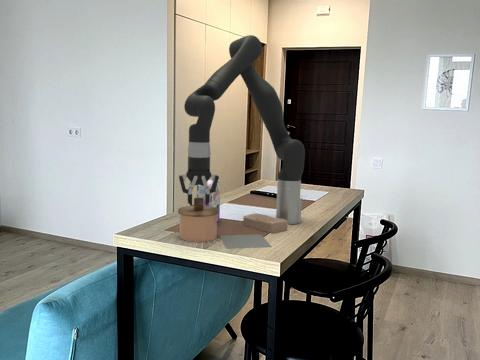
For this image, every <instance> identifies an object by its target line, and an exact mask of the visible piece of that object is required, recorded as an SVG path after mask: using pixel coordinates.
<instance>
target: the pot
mask: <svg viewBox="0 0 480 360" xmlns="http://www.w3.org/2000/svg"><path fill="white" fill-rule="evenodd" d="M217 236H218V222H217V215H213V216H207V217H191V216H184V215H181V214H179V238H180V239H181V240H183V241H187V242H194V243H195V242H196V243H201V242H202V243H205V242H209V241H213V240H215V239H217V238H218V237H217Z"/></svg>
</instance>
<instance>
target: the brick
mask: <svg viewBox="0 0 480 360" xmlns="http://www.w3.org/2000/svg"><path fill="white" fill-rule="evenodd" d="M242 217H243V218H242V219H243V220H242V226H246V227H249V228H253V229H254V230H255V229H256V230H259V231H263V232H266V233H269V234H277V233H281V232H285V231H287V230H288V225H289V224H288V222H287V220H285V219H281V218H276V217H275V216H274V217H273V216H269V215H266V214H264V213H258V212H257V213H252V214H251V213H250V214H246V215H244V216H242Z"/></svg>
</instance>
